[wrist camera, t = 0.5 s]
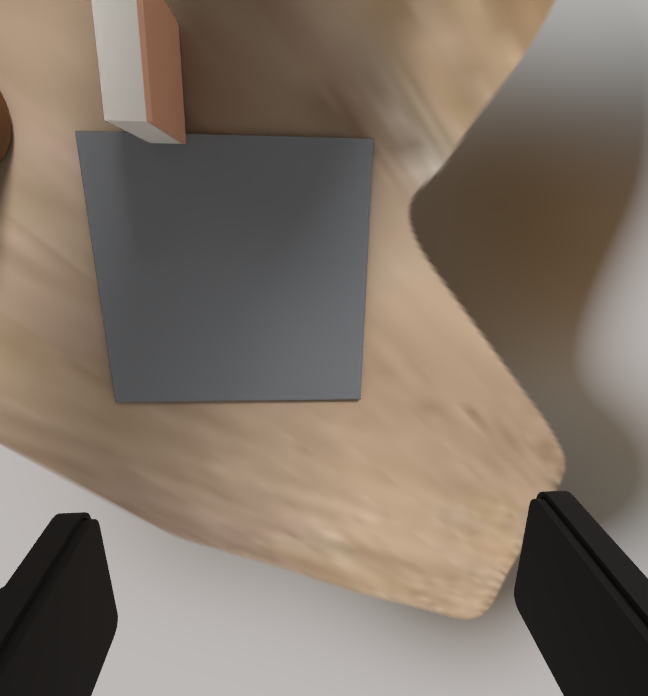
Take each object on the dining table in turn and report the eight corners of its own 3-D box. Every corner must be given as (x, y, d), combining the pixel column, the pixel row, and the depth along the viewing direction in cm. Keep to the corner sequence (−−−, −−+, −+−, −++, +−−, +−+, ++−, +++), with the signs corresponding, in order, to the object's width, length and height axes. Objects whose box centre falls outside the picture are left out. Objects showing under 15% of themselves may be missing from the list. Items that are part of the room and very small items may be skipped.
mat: (77, 131, 31) (75, 130, 31) (372, 139, 33) (373, 138, 32) (117, 400, 38) (115, 402, 38) (359, 396, 39) (360, 398, 39)
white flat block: (139, 23, 29) (86, -44, 22) (178, 24, 29) (139, -42, 22) (150, 143, 31) (104, 120, 24) (186, 144, 31) (152, 121, 24)
